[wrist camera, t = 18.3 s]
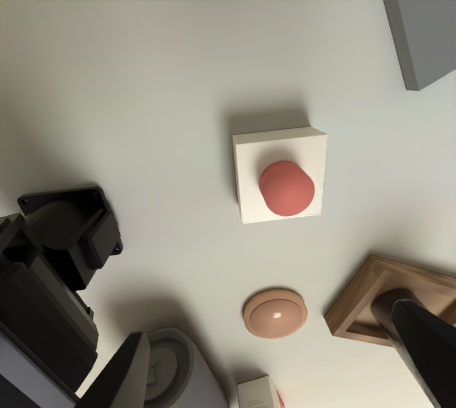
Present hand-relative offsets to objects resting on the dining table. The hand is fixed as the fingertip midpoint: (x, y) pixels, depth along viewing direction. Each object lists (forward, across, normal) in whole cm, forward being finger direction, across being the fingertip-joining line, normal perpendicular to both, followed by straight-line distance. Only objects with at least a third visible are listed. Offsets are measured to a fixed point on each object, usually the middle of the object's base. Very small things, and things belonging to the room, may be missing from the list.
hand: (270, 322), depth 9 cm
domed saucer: (+13, -3, +16) cm, 21 cm away
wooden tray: (+13, -17, +16) cm, 27 cm away
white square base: (+13, -3, -1) cm, 13 cm away
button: (+10, -3, -1) cm, 10 cm away
